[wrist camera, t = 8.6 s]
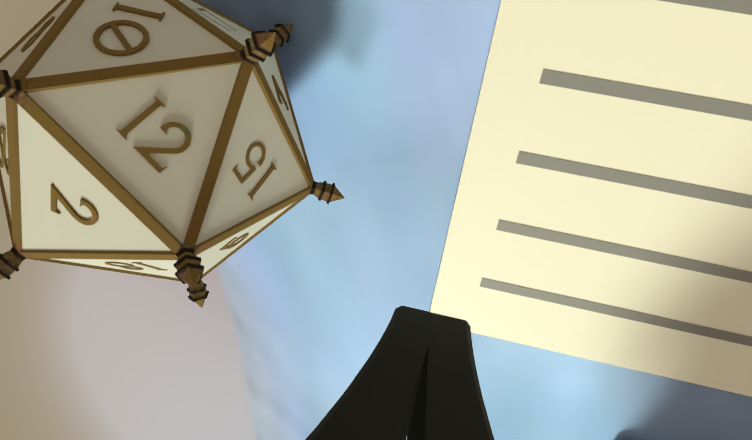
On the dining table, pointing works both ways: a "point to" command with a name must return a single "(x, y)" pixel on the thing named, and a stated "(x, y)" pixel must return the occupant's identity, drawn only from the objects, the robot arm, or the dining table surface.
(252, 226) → the game die
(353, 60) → the dining table surface
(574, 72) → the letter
